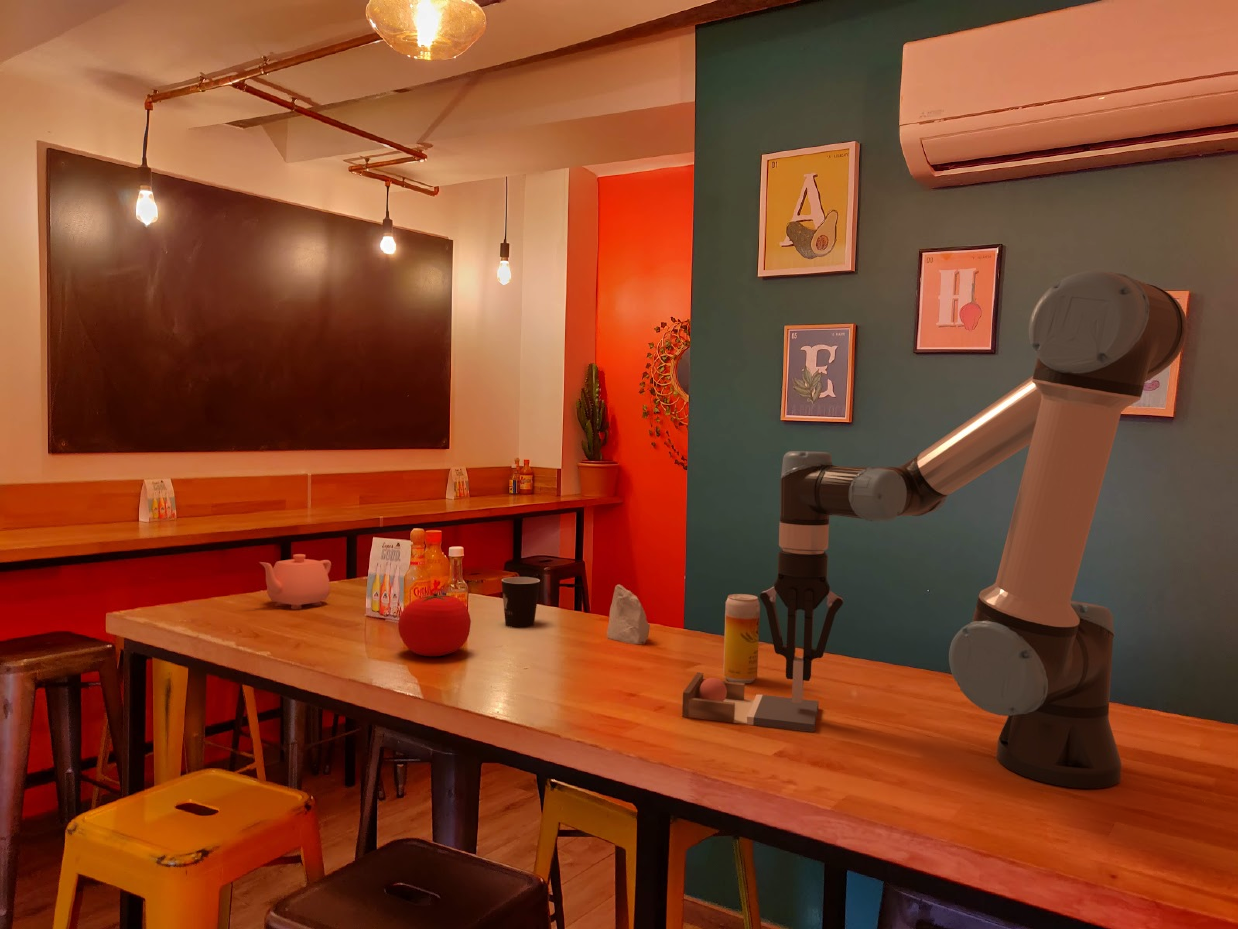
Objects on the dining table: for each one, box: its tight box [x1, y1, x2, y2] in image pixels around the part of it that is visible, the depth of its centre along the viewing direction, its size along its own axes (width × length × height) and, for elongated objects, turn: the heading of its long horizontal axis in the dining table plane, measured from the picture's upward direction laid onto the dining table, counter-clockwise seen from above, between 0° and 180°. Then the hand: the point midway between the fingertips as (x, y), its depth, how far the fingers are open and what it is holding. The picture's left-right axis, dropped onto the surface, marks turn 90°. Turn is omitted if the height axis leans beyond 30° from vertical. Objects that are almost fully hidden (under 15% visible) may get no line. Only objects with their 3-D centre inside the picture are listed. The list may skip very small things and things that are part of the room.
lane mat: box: [700, 693, 819, 733], centre depth 139 cm, size 20×12×1 cm, turn 74°
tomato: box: [397, 592, 472, 657], centre depth 169 cm, size 13×14×12 cm
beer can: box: [722, 593, 761, 684], centre depth 157 cm, size 6×6×15 cm
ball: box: [699, 677, 727, 701], centre depth 141 cm, size 4×4×4 cm
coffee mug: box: [501, 576, 541, 629], centre depth 197 cm, size 12×9×10 cm
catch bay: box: [681, 672, 746, 724], centre depth 140 cm, size 8×12×4 cm, turn 164°
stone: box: [606, 584, 651, 646], centre depth 185 cm, size 10×5×12 cm, turn 40°
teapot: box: [258, 553, 332, 610], centre depth 209 cm, size 13×20×12 cm, turn 147°
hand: (797, 700), depth 137 cm, fingers closed
